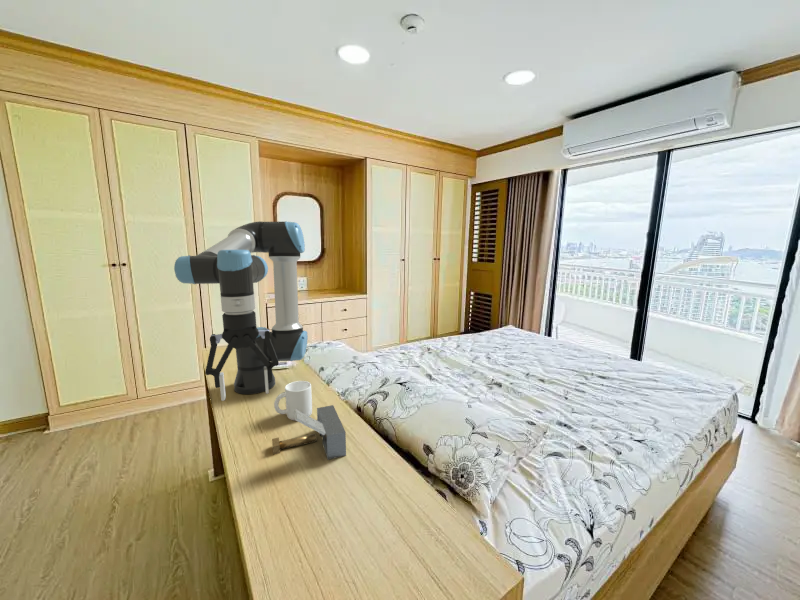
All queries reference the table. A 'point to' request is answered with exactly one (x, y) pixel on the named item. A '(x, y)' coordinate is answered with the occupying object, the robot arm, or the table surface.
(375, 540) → the table surface
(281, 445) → the lynch pin
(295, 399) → the mug
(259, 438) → the table surface
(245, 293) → the robot arm
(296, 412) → the tab
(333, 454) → the block
